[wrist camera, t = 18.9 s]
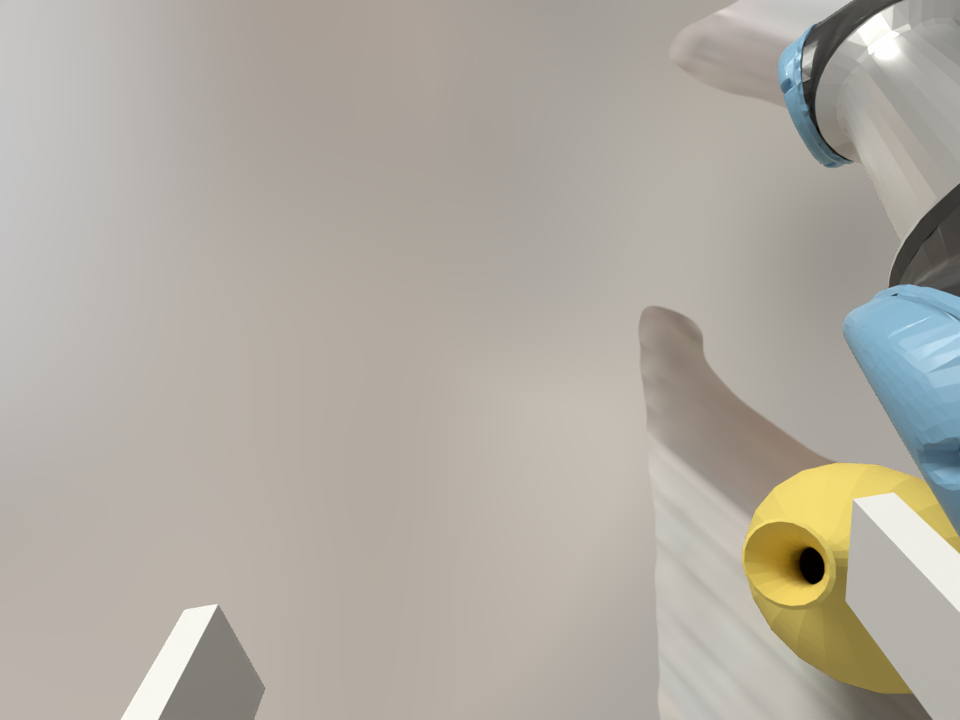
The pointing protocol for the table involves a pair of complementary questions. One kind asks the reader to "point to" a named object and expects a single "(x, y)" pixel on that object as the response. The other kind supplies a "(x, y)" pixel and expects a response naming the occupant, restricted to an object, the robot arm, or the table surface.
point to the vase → (826, 566)
